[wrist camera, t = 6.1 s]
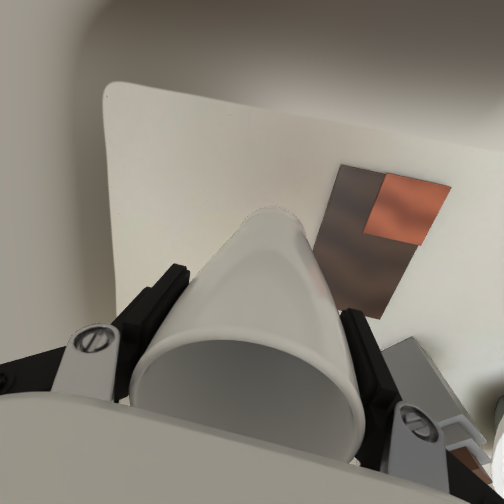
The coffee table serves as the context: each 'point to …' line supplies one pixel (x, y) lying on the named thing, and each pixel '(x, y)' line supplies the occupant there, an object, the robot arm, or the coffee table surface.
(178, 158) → the coffee table surface
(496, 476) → the bowl
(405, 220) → the corner board
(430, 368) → the perfume bottle
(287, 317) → the drinking glass
